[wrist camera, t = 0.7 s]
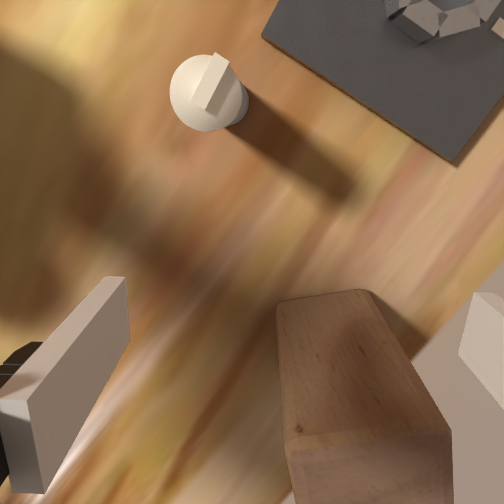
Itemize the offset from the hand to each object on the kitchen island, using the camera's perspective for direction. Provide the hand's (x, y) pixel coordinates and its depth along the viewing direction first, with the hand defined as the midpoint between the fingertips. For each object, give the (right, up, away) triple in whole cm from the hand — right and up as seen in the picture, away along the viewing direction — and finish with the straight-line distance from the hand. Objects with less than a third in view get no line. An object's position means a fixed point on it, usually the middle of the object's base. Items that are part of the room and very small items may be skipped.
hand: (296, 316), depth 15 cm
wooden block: (+6, -6, +28) cm, 29 cm away
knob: (-4, +16, +20) cm, 26 cm away
